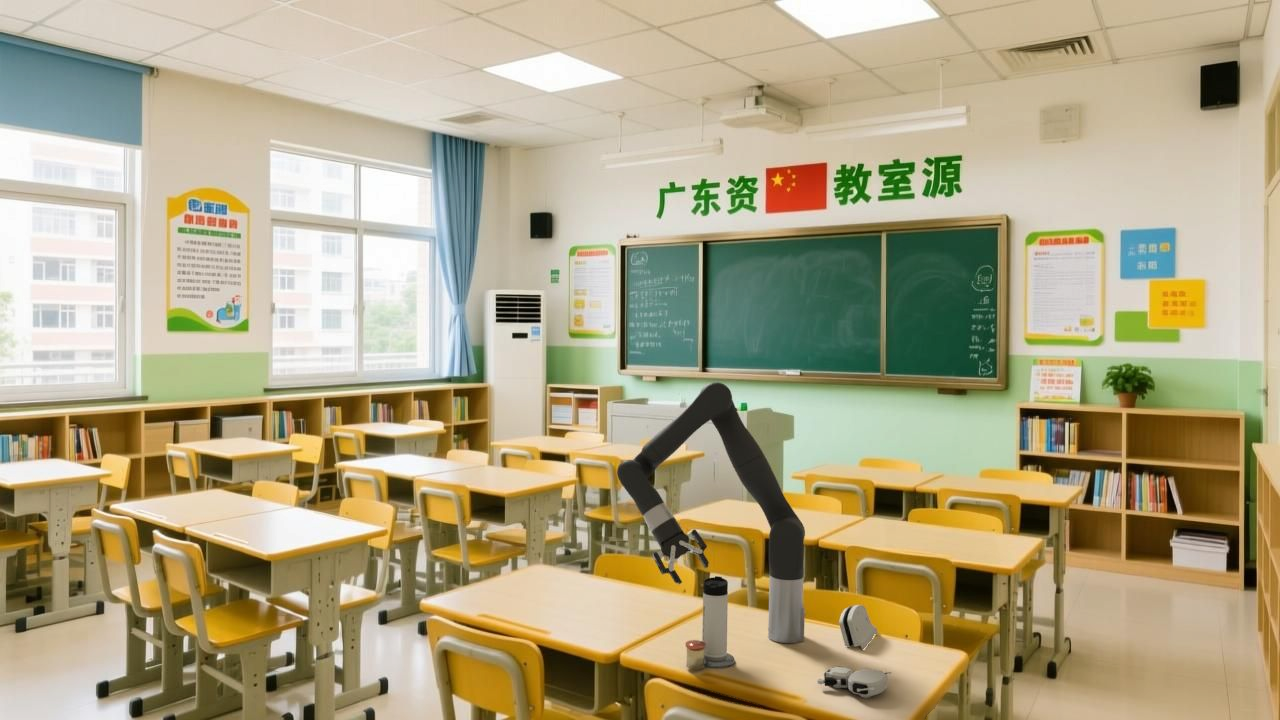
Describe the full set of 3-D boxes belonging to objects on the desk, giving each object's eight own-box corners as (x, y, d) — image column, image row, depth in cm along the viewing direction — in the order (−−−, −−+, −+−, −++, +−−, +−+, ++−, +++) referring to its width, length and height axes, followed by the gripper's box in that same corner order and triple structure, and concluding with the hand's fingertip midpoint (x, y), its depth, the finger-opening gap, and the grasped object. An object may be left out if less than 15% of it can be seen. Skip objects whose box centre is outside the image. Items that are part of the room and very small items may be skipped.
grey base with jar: (710, 651, 229) (711, 626, 229) (742, 660, 223) (742, 635, 223) (673, 666, 218) (673, 641, 218) (705, 677, 211) (705, 651, 211)
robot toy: (814, 694, 205) (876, 706, 196) (813, 675, 205) (875, 685, 196) (834, 678, 215) (894, 688, 206) (833, 659, 215) (894, 669, 206)
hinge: (864, 651, 232) (852, 613, 233) (847, 654, 234) (835, 617, 235) (878, 633, 246) (867, 598, 248) (862, 635, 248) (851, 601, 250)
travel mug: (729, 654, 225) (730, 577, 224) (723, 663, 218) (724, 584, 218) (706, 651, 227) (707, 574, 226) (699, 660, 220) (700, 581, 220)
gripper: (641, 533, 234) (673, 586, 229) (686, 507, 238) (718, 559, 234) (638, 539, 241) (669, 591, 236) (681, 514, 245) (713, 564, 240)
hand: (693, 575), depth 235 cm, fingers open, 8 cm apart
